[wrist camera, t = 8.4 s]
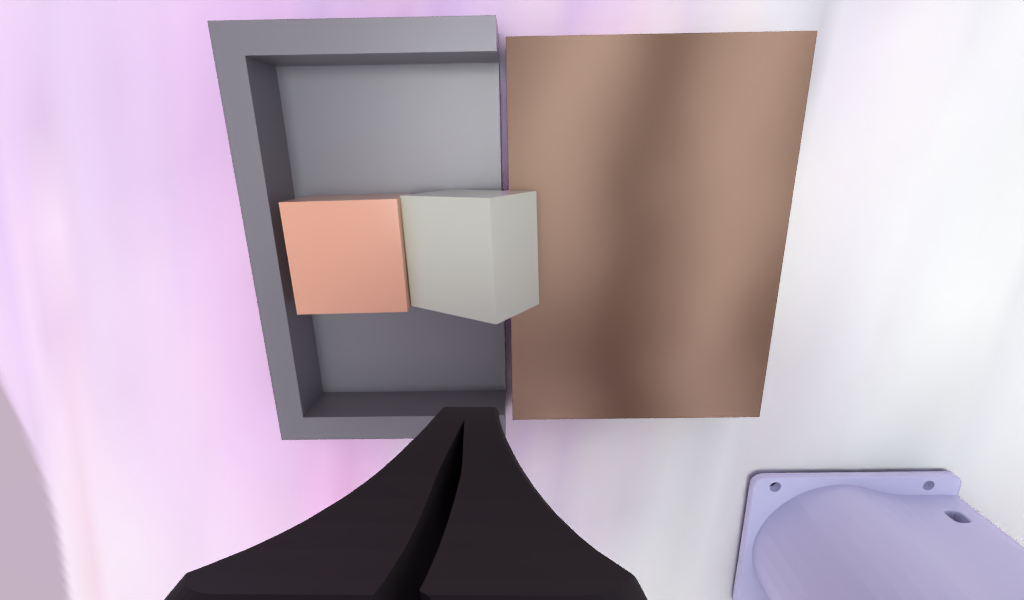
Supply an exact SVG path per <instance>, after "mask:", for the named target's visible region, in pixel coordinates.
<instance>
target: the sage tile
mask: <svg viewBox="0 0 1024 600" xmlns="http://www.w3.org/2000/svg"><path fill="white" fill-rule="evenodd" d="M400 203H401V213H402V222H403V232H404V241H405V251H406V260H407V269H408V279H409V288H410V298H411V306H414V307H419V308H423V309H428V310H433V311H437V312H442V313H446V314H451V315H455V316H460V317H465V318H469V319H474V320H478V321H483V322H487V323H492V324H498V323H501V322H503V321H505V320H507V319H509V318H511V317H513V316H515V315H517V314H519V313H521V312H523V311H525V310H528V309H530V308H532V307H534V306H536V305H538V304H539V277H538V237H537V197H536V191H516V190H454V189H449V190H441V191H433V192H425V193H417V194H409V195H401V196H400Z"/></svg>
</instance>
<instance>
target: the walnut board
mask: <svg viewBox="0 0 1024 600" xmlns="http://www.w3.org/2000/svg"><path fill="white" fill-rule="evenodd" d="M816 37H817V31H781V32H728V33H675V34H621V35H568V36H515V37H506V62H507V120H508V177H509V190H516V191H536V197H537V237H538V277H539V304H538V305H536V306H534V307H532V308H530V309H528V310H525V311H523V312H521V313H519V314H517V315H515V316H513V317H511V349H512V406H513V420H528V419H616V418H704V417H759V415H760V409H761V402H762V396H763V389H764V382H765V376H766V369H767V362H768V356H769V349H770V342H771V336H772V329H773V323H774V316H775V309H776V303H777V296H778V289H779V283H780V276H781V269H782V263H783V256H784V250H785V243H786V236H787V230H788V223H789V216H790V210H791V203H792V196H793V190H794V183H795V176H796V170H797V163H798V157H799V150H800V143H801V137H802V130H803V123H804V117H805V110H806V103H807V97H808V90H809V84H810V77H811V70H812V64H813V57H814V50H815V44H816Z"/></svg>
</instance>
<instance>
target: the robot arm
mask: <svg viewBox="0 0 1024 600" xmlns="http://www.w3.org/2000/svg"><path fill="white" fill-rule="evenodd" d="M774 482H776V484H775V485H773V486H770V485H771V484H772V483H774ZM925 482H926V483H925ZM960 486H961V480H960V478H959V477H957V476H956V475H955V474H953V473H952V472H949V471H921V472H823V473H760V474H757V475H755V476H753V478H752V479H751V481H750V485H749V492H748V498H747V505H746V512H745V518H744V525H743V531H742V538H741V545H740V551H739V558H738V565H737V571H736V578H735V584H734V591H733V598H732V600H1024V547H1022V546H1021V545H1020V544H1019V543H1017V542H1016V541H1015V540H1014V539H1012V538H1011V537H1010V536H1008V535H1007V534H1006V533H1005V532H1003V531H1002V530H1001V529H999V528H998V527H997V526H996V525H994V524H993V523H992V522H990V521H989V520H988V519H987V518H985V517H984V516H983V515H981V514H980V513H979V512H978V511H976V510H975V509H974V508H972V507H971V506H970V505H969V504H967V503H966V502H965V501H963V500H962V499H961V498H960V497H958V492H959V489H960ZM164 600H647V598H646V596H645V594H644V592H643V590H642V588H641V586H640V585H639V583H638V581H637V579H636V578H635V576H634V575H633V574H631V573H630V572H628V571H627V570H625V569H624V568H622V567H621V566H619V565H618V564H616V563H615V562H613V561H612V560H610V559H609V558H607V557H606V556H604V555H603V554H601V553H600V552H598V551H597V550H596V549H594V548H593V547H592V546H591V545H589V544H588V543H587V542H586V541H584V540H583V539H582V538H581V537H579V536H578V535H577V534H576V533H575V532H574V531H573V530H572V529H571V528H570V527H569V526H568V525H567V524H566V523H565V522H564V521H563V520H562V519H561V518H560V517H559V516H558V515H557V514H556V513H555V512H554V511H553V510H552V509H551V507H550V506H549V505H548V504H547V503H546V502H545V500H544V499H543V498H542V497H541V495H540V494H539V493H538V492H537V490H536V489H535V488H534V486H533V485H532V483H531V482H530V480H529V479H528V477H527V476H526V474H525V473H524V471H523V470H522V468H521V466H520V465H519V463H518V461H517V459H516V458H515V456H514V454H513V452H512V450H511V448H510V446H509V444H508V442H507V439H506V437H505V434H504V432H503V429H502V426H501V423H500V419H499V411H498V410H497V409H496V408H495V407H444V408H443V409H442V410H441V411H440V412H439V413H438V414H437V415H436V416H435V417H434V418H433V419H432V420H431V421H430V422H429V424H428V425H427V426H426V427H425V428H424V429H423V430H422V431H421V432H420V433H419V434H418V435H417V436H416V437H415V438H414V439H413V440H412V441H411V442H410V443H409V444H408V445H407V446H406V447H405V448H404V449H403V450H402V451H401V452H400V453H399V454H398V455H397V456H396V457H395V458H394V459H393V460H392V461H390V462H389V463H388V464H387V465H386V466H385V467H384V468H383V469H381V470H380V471H379V472H378V473H377V474H375V475H374V476H373V477H372V478H370V479H369V480H368V481H366V482H365V483H364V484H362V485H361V486H359V487H358V488H357V489H355V490H354V491H352V492H351V493H350V494H348V495H347V496H345V497H344V498H342V499H341V500H339V501H337V502H336V503H334V504H332V505H331V506H329V507H327V508H326V509H324V510H322V511H321V512H319V513H317V514H316V515H314V516H313V517H311V518H309V519H308V520H306V521H304V522H302V523H300V524H298V525H296V526H294V527H293V528H291V529H289V530H287V531H285V532H283V533H281V534H279V535H277V536H275V537H273V538H270V539H268V540H266V541H264V542H262V543H260V544H258V545H255V546H253V547H251V548H249V549H247V550H244V551H242V552H239V553H237V554H234V555H232V556H229V557H227V558H224V559H222V560H219V561H217V562H214V563H212V564H209V565H207V566H204V567H202V568H199V569H196V570H194V571H191V572H188V573H186V575H185V576H184V577H183V578H182V579H181V580H180V581H179V583H178V584H177V585H176V586H175V587H174V589H173V590H172V591H171V592H170V593H169V595H168V596H167V597H166V598H165V599H164Z"/></svg>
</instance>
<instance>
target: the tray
mask: <svg viewBox="0 0 1024 600" xmlns="http://www.w3.org/2000/svg"><path fill="white" fill-rule="evenodd" d="M208 27H209V32H210V38H211V44H212V49H213V55H214V60H215V66H216V72H217V77H218V83H219V89H220V94H221V100H222V106H223V111H224V117H225V122H226V128H227V134H228V139H229V145H230V151H231V156H232V162H233V167H234V173H235V179H236V184H237V190H238V196H239V201H240V207H241V213H242V218H243V224H244V229H245V235H246V241H247V246H248V252H249V258H250V263H251V269H252V274H253V280H254V286H255V291H256V297H257V303H258V308H259V314H260V320H261V325H262V331H263V336H264V342H265V348H266V353H267V359H268V365H269V370H270V376H271V381H272V387H273V393H274V398H275V404H276V410H277V415H278V421H279V427H280V432H281V438H282V440H312V439H403V438H415V437H416V436H417V435H418V434H419V433H420V432H421V431H422V430H423V429H424V428H425V427H426V426H427V425H428V424H429V422H430V421H431V420H432V419H433V418H434V417H435V416H436V415H437V414H438V413H439V412H440V411H441V410H442V409H443V408H444V407H495V408H496V409H497V410H498V411H499V419H500V423H501V426H502V429H503V432H504V434H506V364H505V321H503V322H501V323H498V324H492V323H487V322H483V321H478V320H474V319H469V318H465V317H460V316H455V315H451V314H446V313H442V312H437V311H433V310H428V309H423V308H419V307H414V306H411V307H410V309H409V310H408V312H381V313H340V314H299V315H297V311H296V305H295V298H294V292H293V286H292V280H291V274H290V268H289V262H288V256H287V250H286V244H285V238H284V232H283V226H282V220H281V214H280V208H279V202H282V201H287V200H291V199H296V198H301V197H305V196H318V195H354V194H389V193H412V194H417V193H425V192H433V191H441V190H449V189H454V190H502V179H501V133H500V86H499V40H498V28H497V20H496V15H484V16H432V17H380V18H328V19H276V20H224V21H208Z"/></svg>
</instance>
